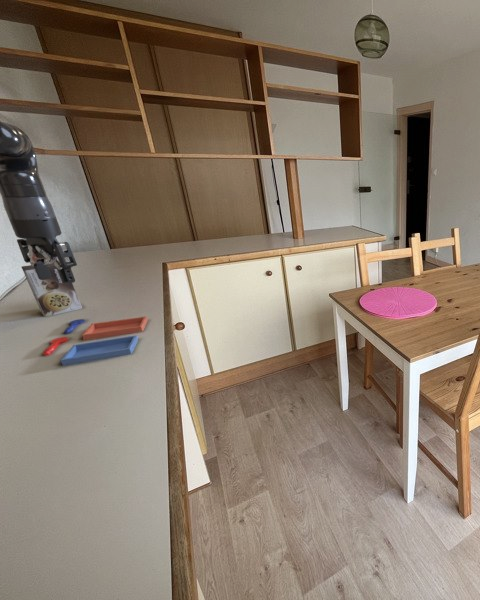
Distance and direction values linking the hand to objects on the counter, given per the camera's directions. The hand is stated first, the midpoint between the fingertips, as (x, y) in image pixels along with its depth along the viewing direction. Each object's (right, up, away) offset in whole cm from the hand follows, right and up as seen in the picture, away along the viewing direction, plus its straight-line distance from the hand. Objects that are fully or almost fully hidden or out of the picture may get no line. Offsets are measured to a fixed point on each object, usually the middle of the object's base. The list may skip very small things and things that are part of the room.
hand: (57, 281), depth 80 cm
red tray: (+3, -14, +14) cm, 20 cm away
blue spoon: (-11, -13, +14) cm, 22 cm away
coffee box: (-26, -9, +25) cm, 37 cm away
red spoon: (-5, -18, +4) cm, 19 cm away
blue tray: (+10, -19, +2) cm, 21 cm away
